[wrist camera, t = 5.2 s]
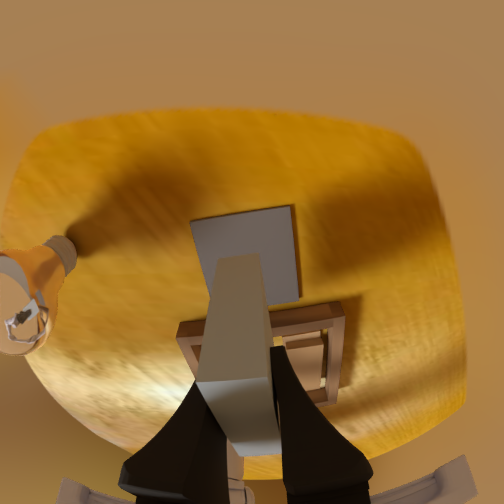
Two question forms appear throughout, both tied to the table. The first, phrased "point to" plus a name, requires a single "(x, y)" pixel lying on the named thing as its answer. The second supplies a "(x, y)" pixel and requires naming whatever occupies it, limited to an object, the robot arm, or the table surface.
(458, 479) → the robot arm
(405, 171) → the table surface
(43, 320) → the light bulb
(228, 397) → the light grey slab
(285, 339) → the offcut lower
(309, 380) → the offcut upper
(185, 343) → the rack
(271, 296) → the mat
